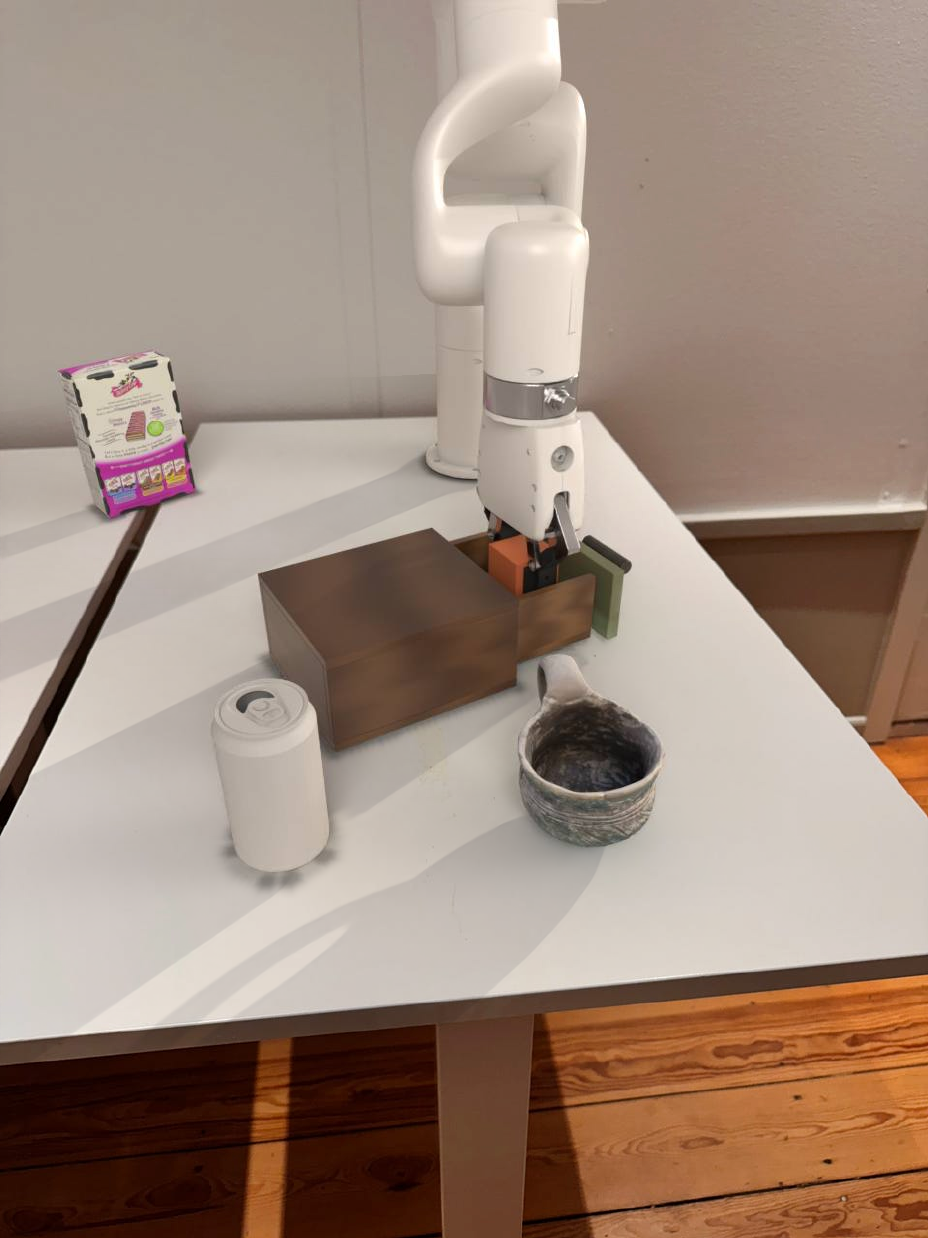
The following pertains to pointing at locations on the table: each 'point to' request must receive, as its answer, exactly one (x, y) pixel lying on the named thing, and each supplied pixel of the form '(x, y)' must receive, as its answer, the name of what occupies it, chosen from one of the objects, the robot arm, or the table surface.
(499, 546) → the block
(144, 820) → the table surface
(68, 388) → the candy bar box
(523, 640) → the drawer
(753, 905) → the table surface
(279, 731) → the beverage can
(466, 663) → the cabinet
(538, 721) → the mug
